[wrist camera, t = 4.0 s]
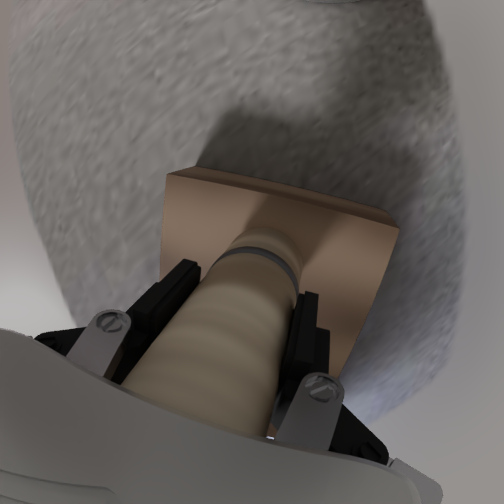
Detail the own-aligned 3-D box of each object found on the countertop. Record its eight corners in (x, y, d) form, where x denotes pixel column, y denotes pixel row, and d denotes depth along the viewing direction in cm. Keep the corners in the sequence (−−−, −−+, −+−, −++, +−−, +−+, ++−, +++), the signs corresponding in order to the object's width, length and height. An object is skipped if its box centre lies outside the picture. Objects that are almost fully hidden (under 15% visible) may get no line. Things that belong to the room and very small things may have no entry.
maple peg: (232, 218, 15) (61, 398, 4) (312, 237, 15) (266, 484, 4) (221, 287, 17) (102, 473, 6) (293, 306, 16) (235, 525, 6)
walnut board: (194, 166, 20) (166, 173, 16) (385, 210, 18) (399, 228, 14) (178, 374, 28) (161, 401, 24) (305, 410, 26) (300, 443, 22)
